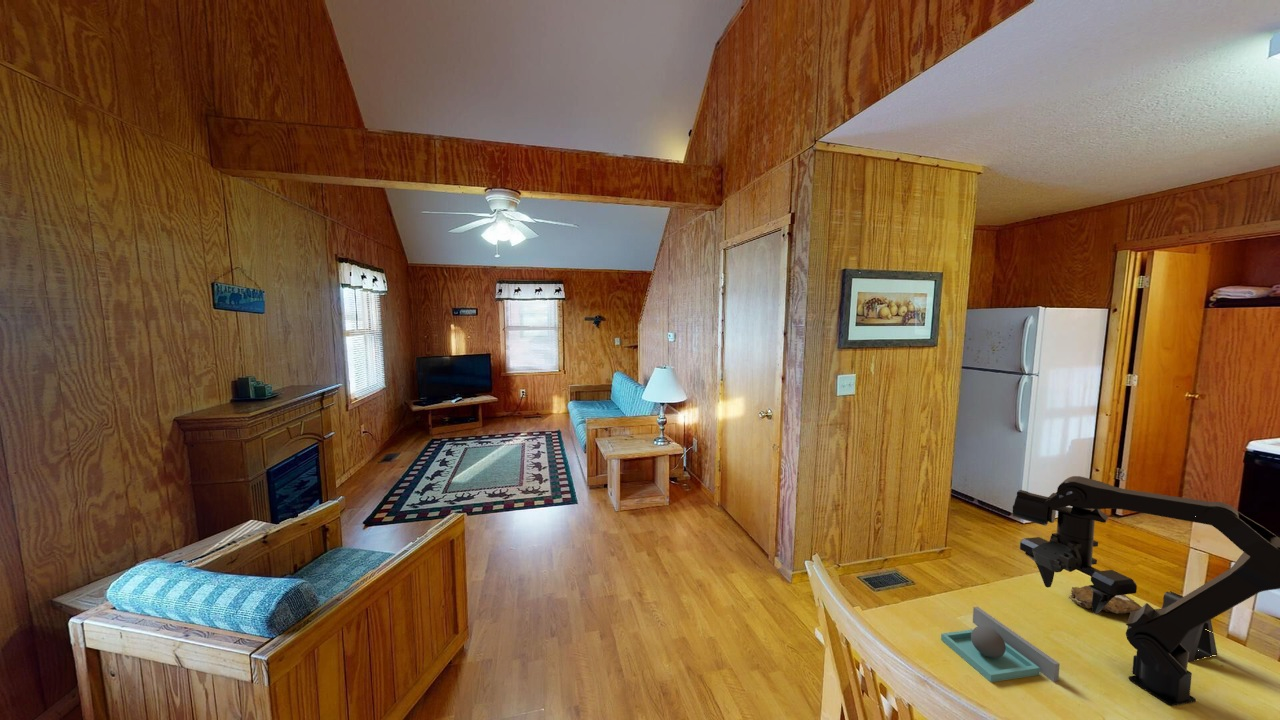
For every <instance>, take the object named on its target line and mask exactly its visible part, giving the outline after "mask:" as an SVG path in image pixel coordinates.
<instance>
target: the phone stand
mask: <svg viewBox="0 0 1280 720" xmlns="http://www.w3.org/2000/svg"><path fill="white" fill-rule="evenodd" d="M1183 597H1184V596H1183V595H1180V594H1179V593H1175V592H1174V591H1172V590H1170V591H1166V592H1164V594H1163V598H1162V600H1163V603H1162V607H1161V608H1165V607H1168V606H1169V605H1171V604H1173V603H1174V602H1176V601H1178V600H1179V599H1181V598H1183ZM1205 629H1207V630H1209V631H1211V632H1209V631H1207V630H1205ZM1212 632H1213V633H1212ZM1180 644H1181V645H1182V646H1183V647H1184V648H1185V649H1186V650H1187V651H1188V652H1189V658H1188V663H1191V661H1192V662H1195V661H1194V660H1197V659H1202V658H1204V657H1210V656H1212V655H1217V656H1218V650H1217V645H1216V639H1215V634H1214V629H1213V624H1212V619H1211V620H1209V621H1207V622H1205V623H1204V624H1202V625H1200V626H1198V627H1196V628H1195V629H1193V630H1191V631H1189V632H1188V634H1187V635H1186V636H1185V637H1184V639H1183V640H1182V641H1181V643H1180ZM1198 650H1199V651H1198ZM1202 660H1203V659H1202ZM1197 661H1198V660H1197Z"/></svg>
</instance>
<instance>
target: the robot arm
mask: <svg viewBox="0 0 1280 720" xmlns="http://www.w3.org/2000/svg"><path fill="white" fill-rule="evenodd" d="M1012 505H1013V506H1012V515H1013V516H1012V517H1014V518H1016V519H1021V520H1023V521H1027V522H1031V523H1035V524H1038V525H1041V526H1045V527H1047V526H1048V524H1049V523H1050V524H1054V523H1055V520H1056V513H1057V522H1056V532H1055V533H1054V532H1052V533H1051V535H1050V539H1049V540H1047V539H1044V538H1042V537H1040V536H1036V537H1026V538H1025V537H1024V538H1022V539H1021V540H1020V541H1019V549H1020V550H1021V551H1022V552H1024V553H1025V555H1026V556H1028V557H1029V558H1030V559H1031V560H1032V561H1033V562H1034V563H1035V565H1036V566H1037V569H1038V571H1039V574H1040V577H1041V579H1042V581H1043V582H1042V583H1043V585H1044V586H1045V588H1051V587H1052V584H1053V581H1054V577H1055V573H1061V572H1062V571H1063V570H1065V571H1067V572H1069V573H1071V572H1075V571H1076V570H1077V571H1079V572H1082V573H1083V574H1084V575H1087V576H1090V582H1091V584H1089V585H1088V586H1089V587H1090V588H1091V589H1092V590H1093V598H1092V608H1091V612H1092V613H1093V614H1099V613H1100V612H1101V611H1102V610H1103V608H1104V606H1105V605H1106V604H1107V603H1108V602H1109V601H1110V600H1111V599H1112V598H1113V597H1115V596H1117V595H1126V596H1127V595H1134V594H1137V589H1138V585H1137V583H1136V582H1135V580H1134V579H1133V578H1131V577H1129V576H1126V575H1124V574H1122V573H1120V572H1117V571H1115V570H1113V569H1106V570H1099V569H1097V568H1095V567H1093V565H1098V559H1096V558H1094V557H1093V553H1094V552H1093V551H1094V547H1095V548H1097V547H1099V541H1097V540H1094V538H1095V522H1098V523H1099V522H1100V523H1103V524H1105V523H1106V522H1107V521H1108V520H1109V517H1110V516H1109V515H1107V514H1106V513H1105V512H1104V511H1102V510H1109V509H1110V510H1112V509H1113V510H1122V511H1123V510H1124V511H1129V512H1136V513H1140V514H1145V515H1152V516H1155V517H1157V516H1158V517H1164V518H1169V519H1173V520H1181V521H1185V522H1192V523H1198V524H1203V525H1208V526H1211V527H1213V528H1215V529H1216V530H1218V531H1219V532H1220V533H1221V534H1222V535H1224V536H1225V538H1227V539H1228V540H1229V541H1230V542H1231V543H1233V544H1234V545H1235V546H1236V547H1237V548H1239V549H1240V550H1241V552H1242V554H1241V555H1240V556H1239V557H1238V558H1237V560H1236V561H1235V563H1234V564H1233V565H1232V566H1231V567H1230V568H1228V569H1227V570H1226V571H1224V572H1222V573H1220V574H1219V575H1217V576H1216V577H1214V578H1212V579H1211V580H1209V581H1207V582H1206V583H1204V584H1202V585H1201V586H1199V587H1198V588H1196V589H1194V590H1193V591H1190V592H1189V593H1187V594H1186V595H1184V596H1183V598H1181V599H1179V600H1178V601H1176V602H1174V603H1173V604H1171V605H1169V606H1168V607H1165V608H1162V607H1161V608H1156V609H1155V608H1154V607H1152V606H1151V605H1150V603H1147V602H1146V603H1144V604H1143V605H1142V606H1141V607H1142V608H1141V609H1140V610H1138V611H1132V612H1131V613H1129V616H1128V619H1127V622H1126V626H1127V628H1126V632H1125V637H1126V639H1127V640H1128V642H1129V644H1130V645H1131V646H1132V647H1133V648H1134V649H1135V650H1136V655H1133V657H1132V668H1131V669H1132V671H1131V673H1132V675H1129V676H1127V677H1128V680H1129V681H1130V682H1132V683H1133V684H1135V685H1137V686H1138V687H1140V689H1143V690H1145V691H1146V692H1148V693H1149V694H1151V695H1153V696H1154V697H1155V698H1157V699H1159V700H1160V701H1162V702H1163V703H1164V704H1167V705H1168V706H1171V707H1174V706H1180V705H1185V704H1192V703H1196V702H1197V699H1196V698H1195V697H1194V696H1192V695H1191V686H1192V685H1191V684H1192V675H1193V673H1192V672H1191V671H1189V670H1188V663H1189V662H1188V658H1189V652H1188V651H1187V650H1186V649H1185V648H1184V647H1183V646H1182V645H1181V644H1180V643H1181V641H1182V640H1183V639H1184V637H1185V636H1186V635H1187V634H1188V632H1189V631H1191V630H1193V629H1195V628H1196V627H1198V626H1200V625H1202V624H1204V623H1205V622H1207V621H1209V620H1211V621H1212V619H1214V618H1216V617H1218V616H1219V615H1221V614H1224V613H1225V612H1226V611H1228V610H1231V609H1232V608H1234V607H1236V606H1238V605H1239V604H1241V603H1243V602H1245V601H1247V600H1249V599H1251V598H1252V597H1255V595H1257V594H1259V593H1261V592H1267V591H1274V590H1280V537H1279V536H1277V535H1276V534H1275V533H1273V532H1272V531H1270V530H1268V529H1267V528H1266V527H1264V526H1263V525H1261V524H1259V523H1258V522H1256V521H1254V520H1253V519H1251V518H1249V517H1247V516H1245V515H1244V514H1243V513H1242V512H1240V511H1238V510H1237V509H1236V508H1235V507H1234V506H1232V505H1230V504H1228V503H1225V502H1221V501H1206V500H1201V499H1194V498H1187V497H1180V496H1173V495H1165V494H1160V493H1154V492H1147V491H1140V490H1133V489H1128V488H1127V489H1126V488H1121V487H1118V486H1113V485H1110V484H1108V483H1105V482H1103V481H1099V480H1096V479H1092V478H1088V477H1085V476H1080V475H1074V476H1070V477H1069V476H1068V477H1067V478H1066V479H1064V480H1063V481H1062V482H1061V483H1060V484H1059V485H1058V486H1057V490H1056V492H1053V493H1051V494H1050V495H1049V496H1044V495H1041V494H1037V493H1032V492H1029V491H1026V490H1024V489H1023V490H1022V489H1019V490H1017V491H1016V497H1015V499H1014V503H1013V504H1012ZM1195 516H1196V517H1195Z"/></svg>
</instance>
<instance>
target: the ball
mask: <svg viewBox="0 0 1280 720" xmlns="http://www.w3.org/2000/svg"><path fill="white" fill-rule="evenodd" d="M971 630H972V629H971ZM971 640H972V643H973V645H974V647H975V648H976V649H977V650H978V651H979V652H980V653H981V654H983V655H985V656H987V657H990V658H999V657H1001V656H1003V654H1004V653H1005V650H1006V646H1005V642H1004V640H1003V638H1002V637H1001V636H1000V634H999V633H997V632H996V631H995V630H993V629H992V628H989V627H986V626H976V627H974V628H973V630H972V633H971Z"/></svg>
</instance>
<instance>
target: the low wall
mask: <svg viewBox="0 0 1280 720" xmlns="http://www.w3.org/2000/svg"><path fill="white" fill-rule="evenodd" d="M972 623H973V624H974V625H976V627H978V626H986V627H989V628H992V629H993V630H995V631H996V632H997V633H999V634H1000V636H1001V637H1002V638H1003V640H1004V642H1005V643H1007V644H1008V645H1009V646H1011V647H1012V648H1013V649H1015V650H1016V651H1018V652H1019V653H1020V654H1022V655H1023V656H1024V657H1026V658H1027V659H1028V660H1030V661H1031V662H1033V663H1034V664H1035V665H1037V666H1038V667H1039V668H1040V673H1041V675H1044V677H1046V678H1047V679H1048V680H1049V681H1051V682H1053V683H1058V682H1059V681H1060V680H1059V678H1060V665H1061V663H1060V662H1058V661H1057V660H1055V659H1054V658H1052V657H1051V656H1050V655H1049V654H1047V653H1046V652H1044V651H1043V650H1041V649H1040V648H1039V647H1037V646H1036V645H1034V644H1032V643H1031V642H1029V640H1027V639H1025V638H1024V637H1022V636H1021V635H1019V634H1018V633H1017V632H1015V631H1013V630H1012V629H1011V628H1009V627H1008V626H1007V625H1005V624H1003V623H1002V622H1000V621H999V620H998V619H996V618H995V617H993V616H992V615H991V614H989V613H987V611H985V610H984V609H982V608H980V606H973V611H972ZM1040 673H1039V674H1040Z"/></svg>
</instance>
